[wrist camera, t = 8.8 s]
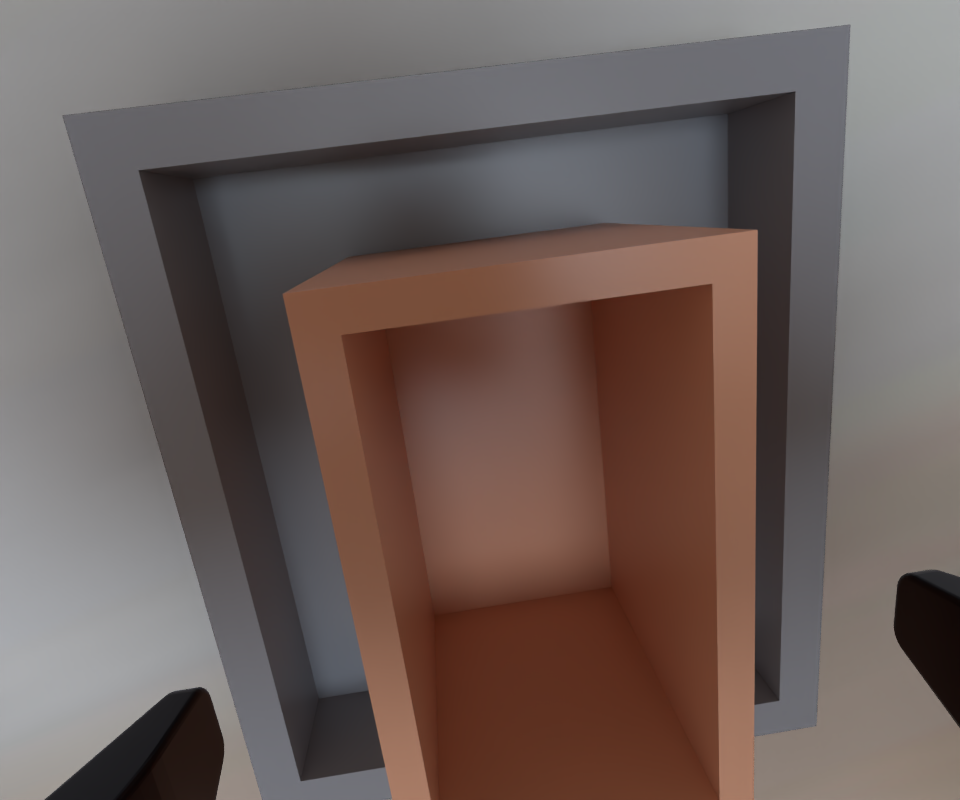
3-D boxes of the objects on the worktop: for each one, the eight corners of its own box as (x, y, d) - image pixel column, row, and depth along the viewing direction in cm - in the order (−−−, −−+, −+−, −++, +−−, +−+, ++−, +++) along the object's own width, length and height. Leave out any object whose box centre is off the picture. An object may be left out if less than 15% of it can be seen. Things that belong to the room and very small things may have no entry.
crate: (753, 67, 15) (850, 24, 11) (748, 637, 19) (816, 726, 16) (148, 139, 14) (62, 115, 11) (295, 711, 19) (268, 819, 15)
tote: (604, 222, 15) (757, 230, 8) (627, 589, 18) (753, 821, 11) (348, 257, 14) (281, 294, 8) (415, 623, 17) (410, 882, 11)
